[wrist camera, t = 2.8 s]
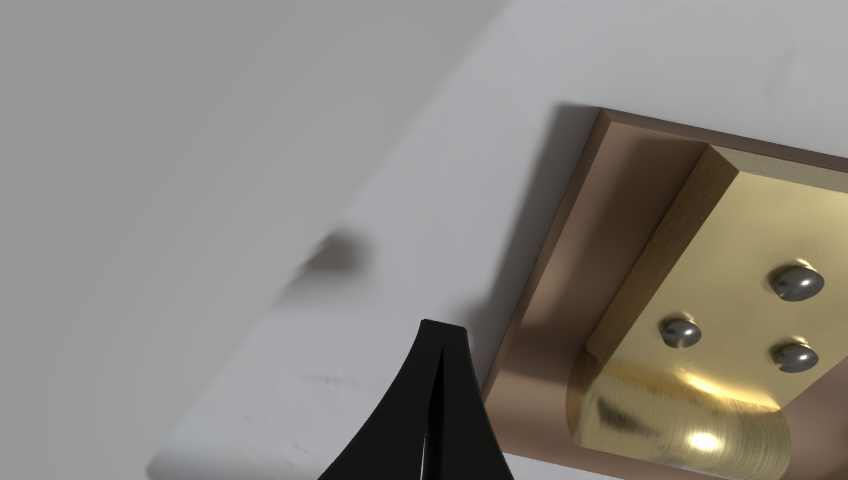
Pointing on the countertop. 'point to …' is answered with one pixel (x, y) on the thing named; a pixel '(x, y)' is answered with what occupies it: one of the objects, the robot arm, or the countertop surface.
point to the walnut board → (599, 284)
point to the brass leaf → (721, 321)
